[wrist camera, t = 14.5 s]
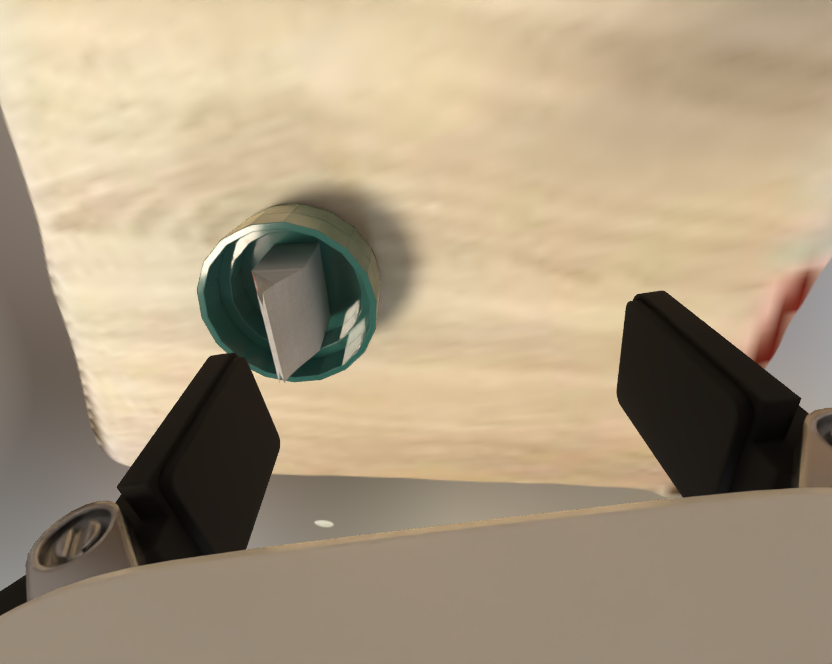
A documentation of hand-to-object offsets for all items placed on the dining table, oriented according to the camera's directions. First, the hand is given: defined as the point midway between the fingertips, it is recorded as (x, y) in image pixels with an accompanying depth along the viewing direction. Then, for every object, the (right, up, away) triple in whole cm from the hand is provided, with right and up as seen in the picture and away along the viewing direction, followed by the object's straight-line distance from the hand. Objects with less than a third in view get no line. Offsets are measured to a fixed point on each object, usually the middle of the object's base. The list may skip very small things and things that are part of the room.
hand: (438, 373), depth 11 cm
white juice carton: (-10, +5, +26) cm, 28 cm away
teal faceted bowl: (-10, +6, +26) cm, 29 cm away
